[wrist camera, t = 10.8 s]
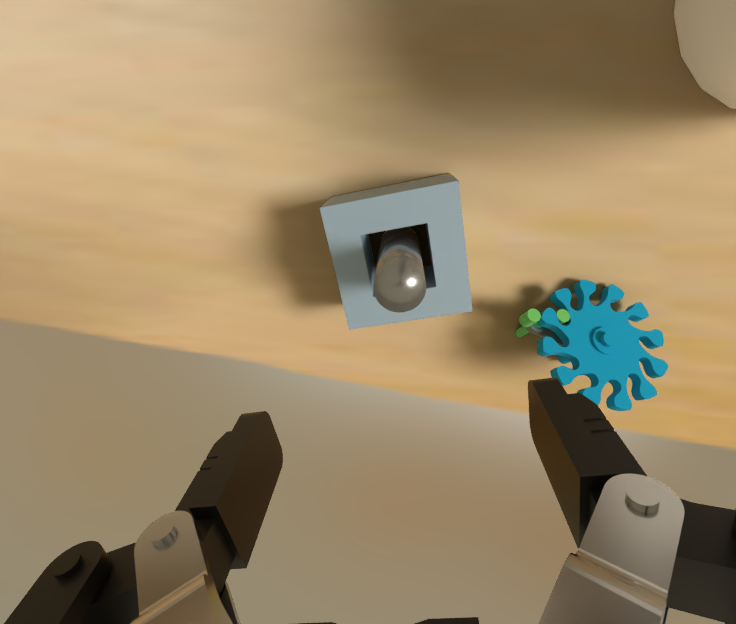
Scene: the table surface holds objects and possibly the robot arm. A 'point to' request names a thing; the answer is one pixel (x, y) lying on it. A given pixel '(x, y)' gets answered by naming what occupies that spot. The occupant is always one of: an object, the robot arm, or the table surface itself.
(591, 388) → the teal lobed toy
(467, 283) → the socket block
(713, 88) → the canister
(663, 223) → the table surface
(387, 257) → the pin
